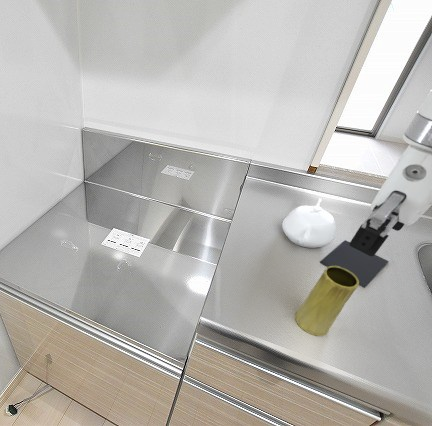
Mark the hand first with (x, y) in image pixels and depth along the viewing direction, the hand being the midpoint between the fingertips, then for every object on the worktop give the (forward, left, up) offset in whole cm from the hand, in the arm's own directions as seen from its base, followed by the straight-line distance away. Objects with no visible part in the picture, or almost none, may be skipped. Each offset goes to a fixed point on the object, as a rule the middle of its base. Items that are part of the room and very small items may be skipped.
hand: (374, 237), depth 46 cm
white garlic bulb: (+16, -26, -24) cm, 39 cm away
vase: (+1, 0, -24) cm, 24 cm away
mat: (+3, -26, -24) cm, 36 cm away
